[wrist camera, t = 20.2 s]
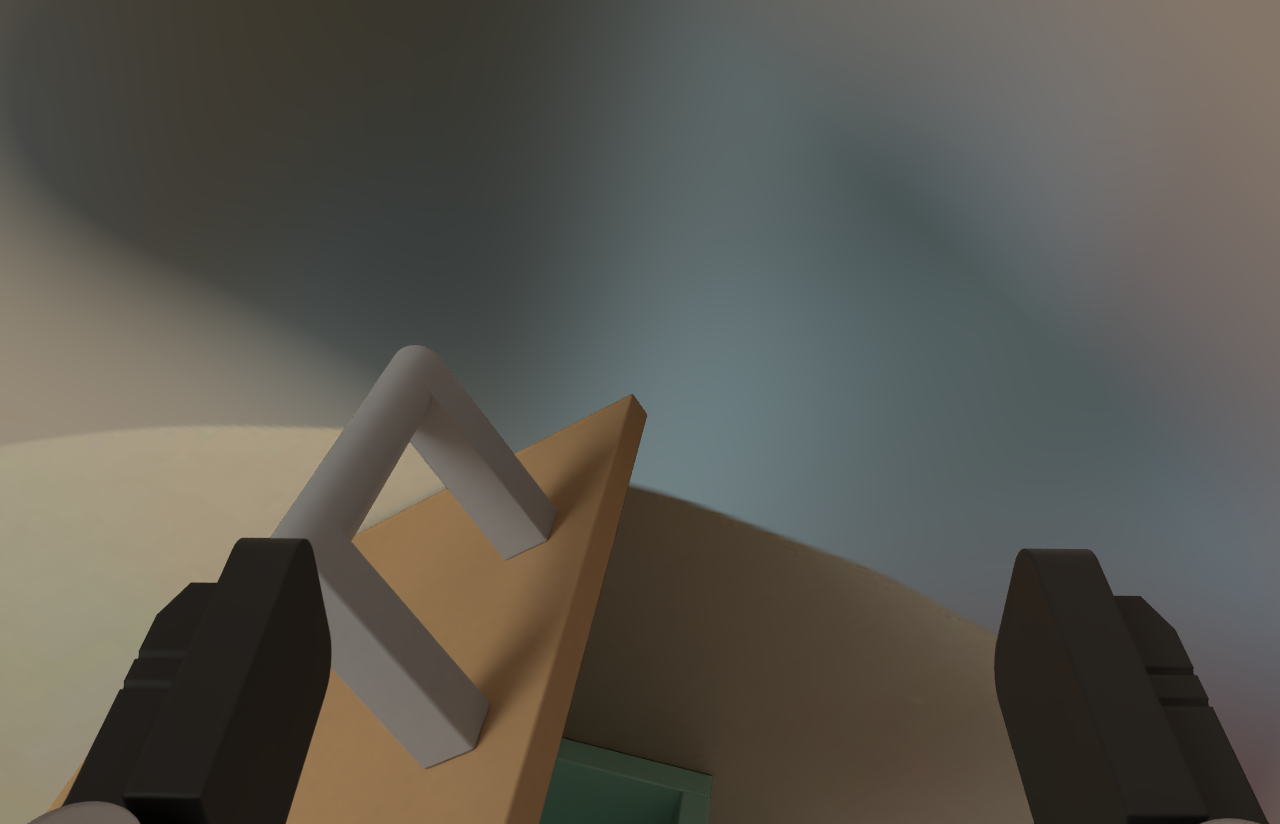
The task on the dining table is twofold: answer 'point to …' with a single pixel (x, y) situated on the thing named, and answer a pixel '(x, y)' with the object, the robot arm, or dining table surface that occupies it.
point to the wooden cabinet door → (453, 603)
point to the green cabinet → (622, 789)
